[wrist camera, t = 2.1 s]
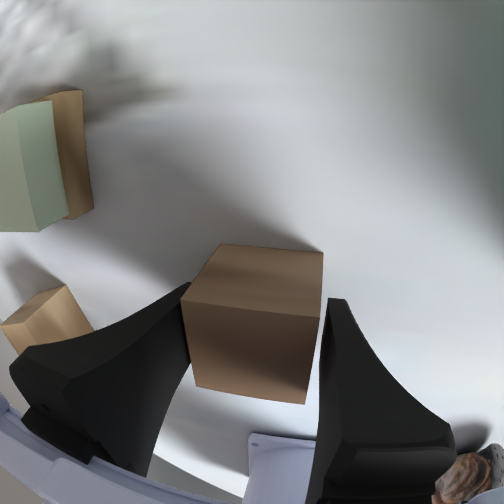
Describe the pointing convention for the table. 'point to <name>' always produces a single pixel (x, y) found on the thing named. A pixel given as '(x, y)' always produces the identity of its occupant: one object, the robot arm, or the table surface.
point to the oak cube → (46, 320)
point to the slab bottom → (71, 150)
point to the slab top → (30, 169)
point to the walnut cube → (255, 321)
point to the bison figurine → (471, 476)
